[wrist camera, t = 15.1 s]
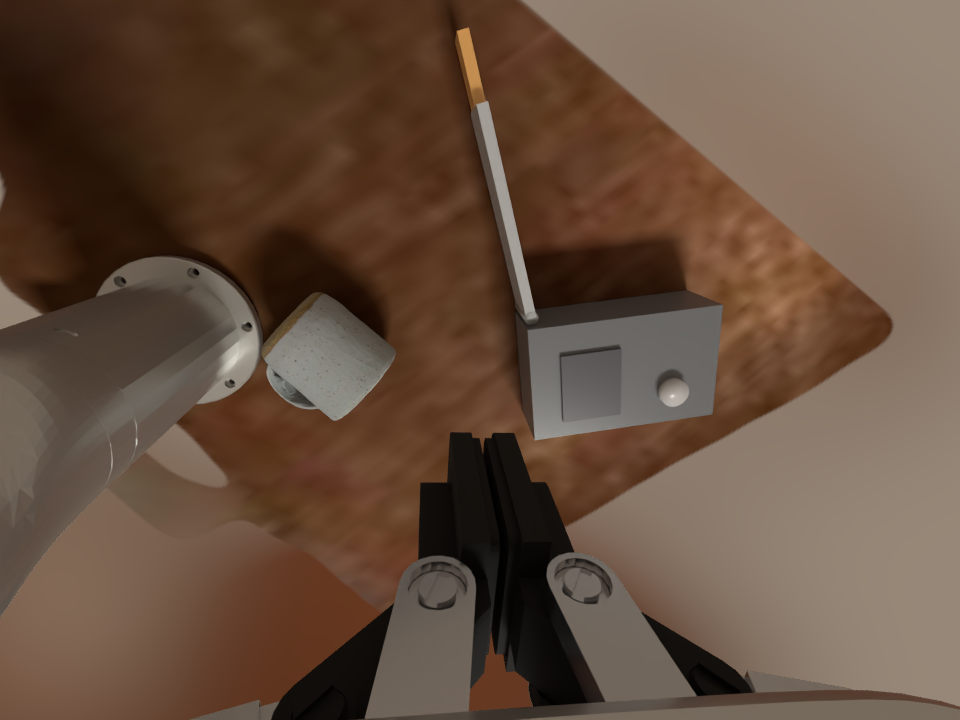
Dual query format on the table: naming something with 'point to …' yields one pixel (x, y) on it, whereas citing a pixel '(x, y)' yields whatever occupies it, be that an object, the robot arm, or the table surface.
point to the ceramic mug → (325, 357)
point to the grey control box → (618, 363)
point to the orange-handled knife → (495, 177)
